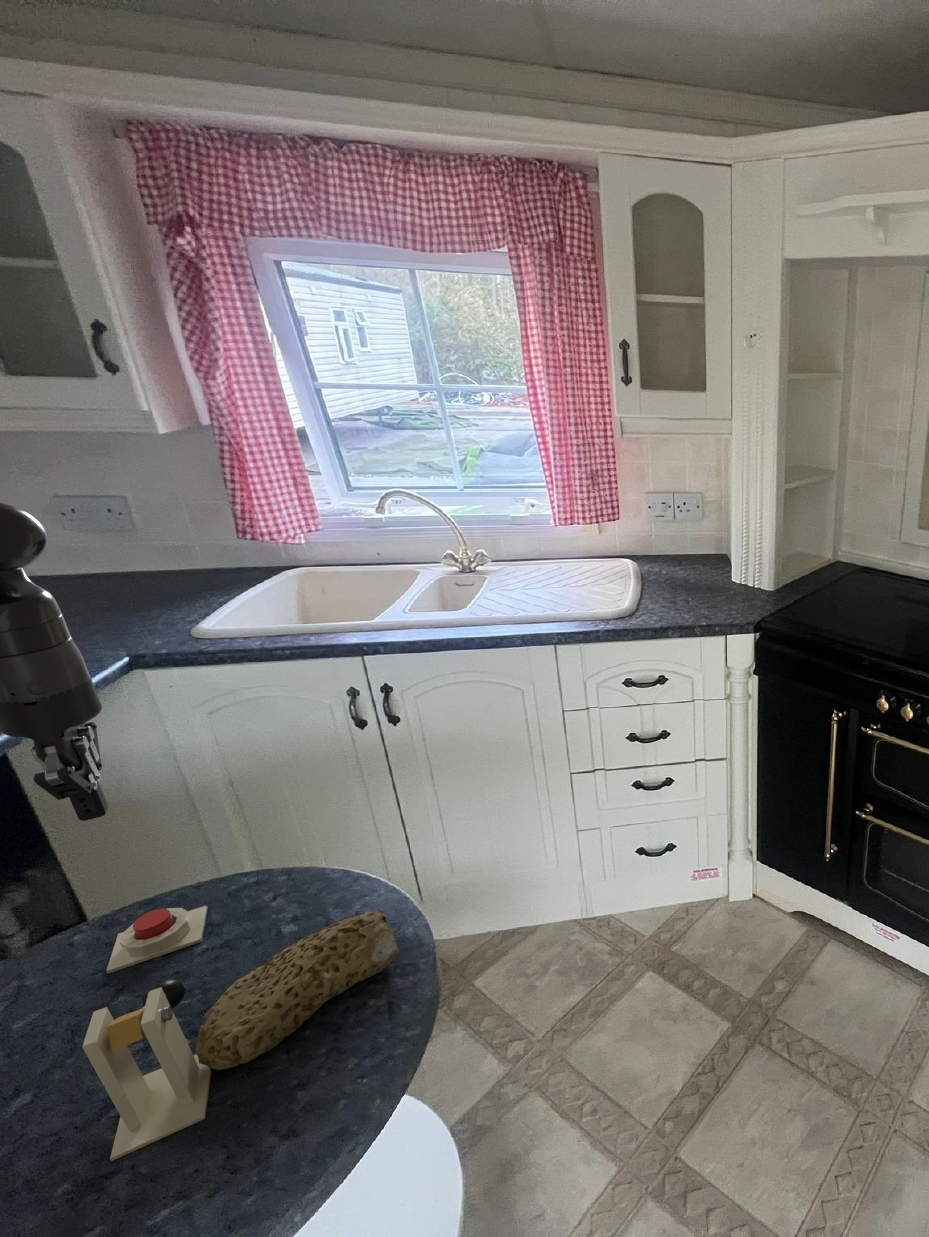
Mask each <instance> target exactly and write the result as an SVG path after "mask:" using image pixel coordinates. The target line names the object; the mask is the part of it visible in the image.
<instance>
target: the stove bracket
mask: <svg viewBox="0 0 929 1237" xmlns="http://www.w3.org/2000/svg"><path fill="white" fill-rule="evenodd" d="M114 1020H115V1019H114V1017H113V1016H112V1014H111V1011H110V1010H109V1008H108V1006H106V1007H103V1008H101V1009H100V1008H99V1009H98V1010H97V1009H96V1010H94V1011H93V1012H92V1015H91V1018H90V1022H89V1024H88V1028H87V1031H86V1034H85V1037H84V1040H83V1043H82V1047H81V1048H82V1049H83V1051H84V1053H85V1055H86V1056H87V1058H88V1060H89V1062H90V1064H91V1066H92V1067H93V1069H94V1071H95V1073H96V1075H97V1077H98V1078H99V1081H100V1082H101V1084H102V1085H103V1087H104V1088H105V1091H106V1093H107V1094H108V1096H109V1098H110V1100H111V1102H112V1103H113V1105H114V1107H115V1109H116V1110H117V1113H118V1114H119V1116H120V1117H119V1119H118V1120H119V1121H118V1125H117V1128H116V1133H115V1138H114V1141H113V1145H112V1150H111V1154H110V1156H109V1160H110V1161H111V1162H114V1161H116V1160H117V1159H120V1158H122V1157H123V1156H126V1155H128V1154H130V1153H132V1152H135V1151H137V1150H139V1149H141V1148H143V1147H146V1146H148V1145H150V1144H153V1143H154V1142H157V1141H159V1140H162V1139H163V1138H165V1137H167V1136H170V1135H172V1134H174V1133H177V1132H178V1131H182V1130H183V1129H185V1128H188V1127H190V1126H192V1125H194V1124H197V1123H198V1122H200V1121H203V1120H205V1119H206V1116H207V1110H208V1102H209V1095H210V1094H209V1093H210V1086H211V1079H212V1071H213V1069H212V1068H209V1067H208V1066H206V1065H204V1064H200V1063H199V1059H198V1055H197V1054H196V1053H195V1054H193V1052H192V1049H191V1047H190V1045H189V1043H188V1041H187V1038H186V1037H185V1034H184V1033H183V1030H182V1027H181V1026H180V1024H179V1021H178V1019H177V1017H176V1015H175V1013H174V1011H173V1009H172V1008H171V1006H170V1004H169V1002H168V1000H167V998H166V996H165V994H164V991H163V989H162V987H160V988H158V989H155V990H152V991H149V993H148V997H147V1001H146V1005H145V1009H144V1013H143V1017H142V1021H141V1027H142V1029H143V1031H144V1033H145V1035H146V1036H145V1037H146V1039H147V1041H148V1043H149V1045H150V1047H151V1049H152V1051H153V1054H154V1055H155V1058H156V1060H157V1061H158V1063H159V1065H160V1067H161V1068H159V1069H156V1070H154V1071H152V1072H149V1073H146V1074H145V1075H143V1074H142V1072H141V1070H140V1067H139V1066H138V1064H137V1062H136V1060H135V1058H134V1056H133V1054H132V1052H131V1051H130V1049H129V1047H128V1045H125V1046H123V1047H120V1048H118V1049H115V1050H112V1049H111V1044H110V1039H109V1034H108V1029H107V1026H108V1025H110V1024H111V1023H112V1022H113V1021H114Z"/></svg>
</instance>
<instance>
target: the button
mask: <svg viewBox="0 0 929 1237" xmlns="http://www.w3.org/2000/svg"><path fill="white" fill-rule="evenodd" d="M133 923H134V924H133ZM133 923H132V924H133V929H134V931H135V934H136V936H137V938H138V939H141V940H146V939H149V938H152V937H155V936H158V935H160V934H162V933H164V932H165V931H167V930H169V929H170V928H171V927H172V926H173V924H174V920H173V917H172V915H171V913H170V911H169V910H168V908H158V909H154V910H152V911H151V910H150V911H149V912H147V913H145V914H143V915H141V916H139V917H138V918H137V919H136V920H135V921H134V922H133Z"/></svg>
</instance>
